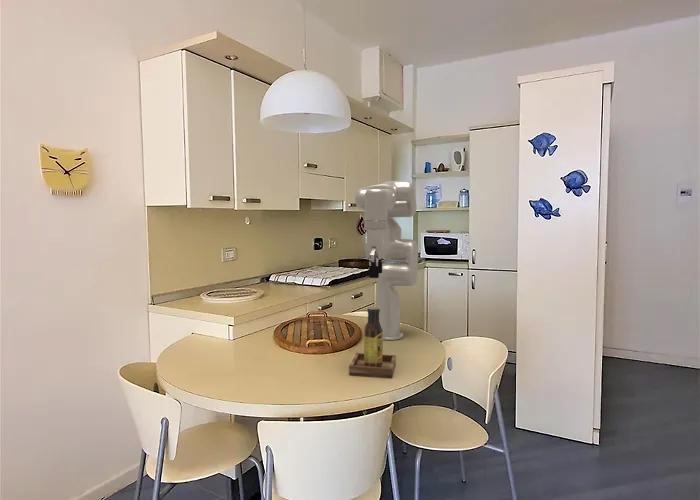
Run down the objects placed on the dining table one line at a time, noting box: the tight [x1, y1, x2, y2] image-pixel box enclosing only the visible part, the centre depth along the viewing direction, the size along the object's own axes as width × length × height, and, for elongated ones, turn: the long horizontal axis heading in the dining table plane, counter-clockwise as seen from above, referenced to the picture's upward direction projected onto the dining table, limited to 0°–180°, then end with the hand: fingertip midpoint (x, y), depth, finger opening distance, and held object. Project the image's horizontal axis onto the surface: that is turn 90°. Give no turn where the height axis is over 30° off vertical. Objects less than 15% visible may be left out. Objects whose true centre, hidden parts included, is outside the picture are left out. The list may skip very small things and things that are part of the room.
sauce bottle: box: [363, 306, 384, 367], centre depth 149 cm, size 6×6×20 cm
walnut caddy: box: [348, 352, 397, 379], centre depth 150 cm, size 14×14×3 cm
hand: (375, 275), depth 152 cm, fingers open, 9 cm apart
